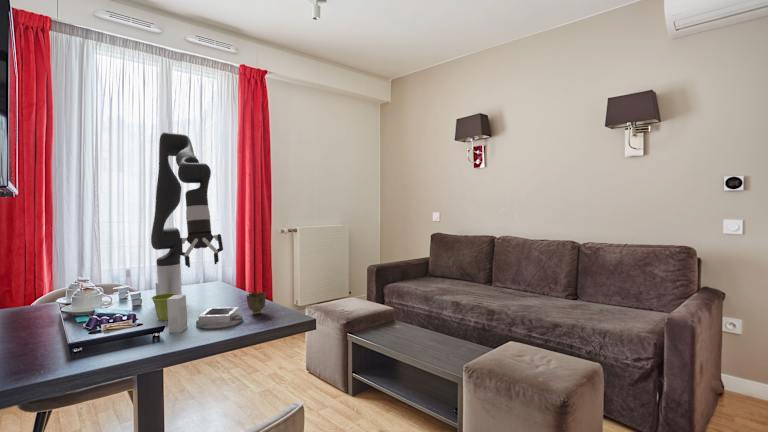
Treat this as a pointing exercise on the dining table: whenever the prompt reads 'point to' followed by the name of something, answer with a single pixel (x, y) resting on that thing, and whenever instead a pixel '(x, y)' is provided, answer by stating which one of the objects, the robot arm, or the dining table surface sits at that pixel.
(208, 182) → the robot arm
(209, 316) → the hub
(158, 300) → the plant pot
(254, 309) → the cup
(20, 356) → the dining table surface
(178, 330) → the skincare box
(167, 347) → the dining table surface
